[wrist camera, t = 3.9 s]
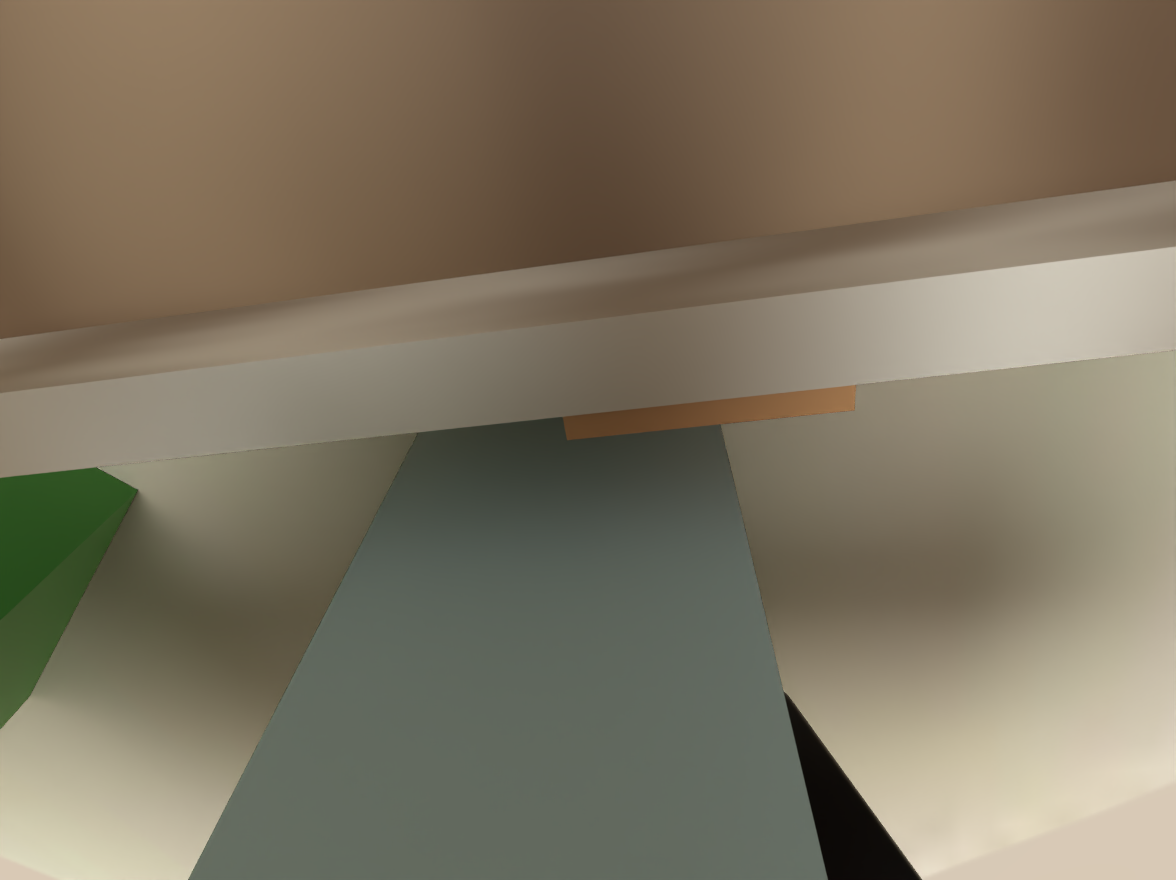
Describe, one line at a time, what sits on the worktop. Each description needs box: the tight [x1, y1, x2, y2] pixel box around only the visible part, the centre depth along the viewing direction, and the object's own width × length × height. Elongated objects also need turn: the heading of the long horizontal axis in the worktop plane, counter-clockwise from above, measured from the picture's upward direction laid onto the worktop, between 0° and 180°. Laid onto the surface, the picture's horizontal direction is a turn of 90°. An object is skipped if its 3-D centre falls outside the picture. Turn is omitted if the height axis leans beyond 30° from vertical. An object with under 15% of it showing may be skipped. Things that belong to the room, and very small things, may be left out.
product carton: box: [188, 417, 828, 880], centre depth 8 cm, size 5×6×8 cm
